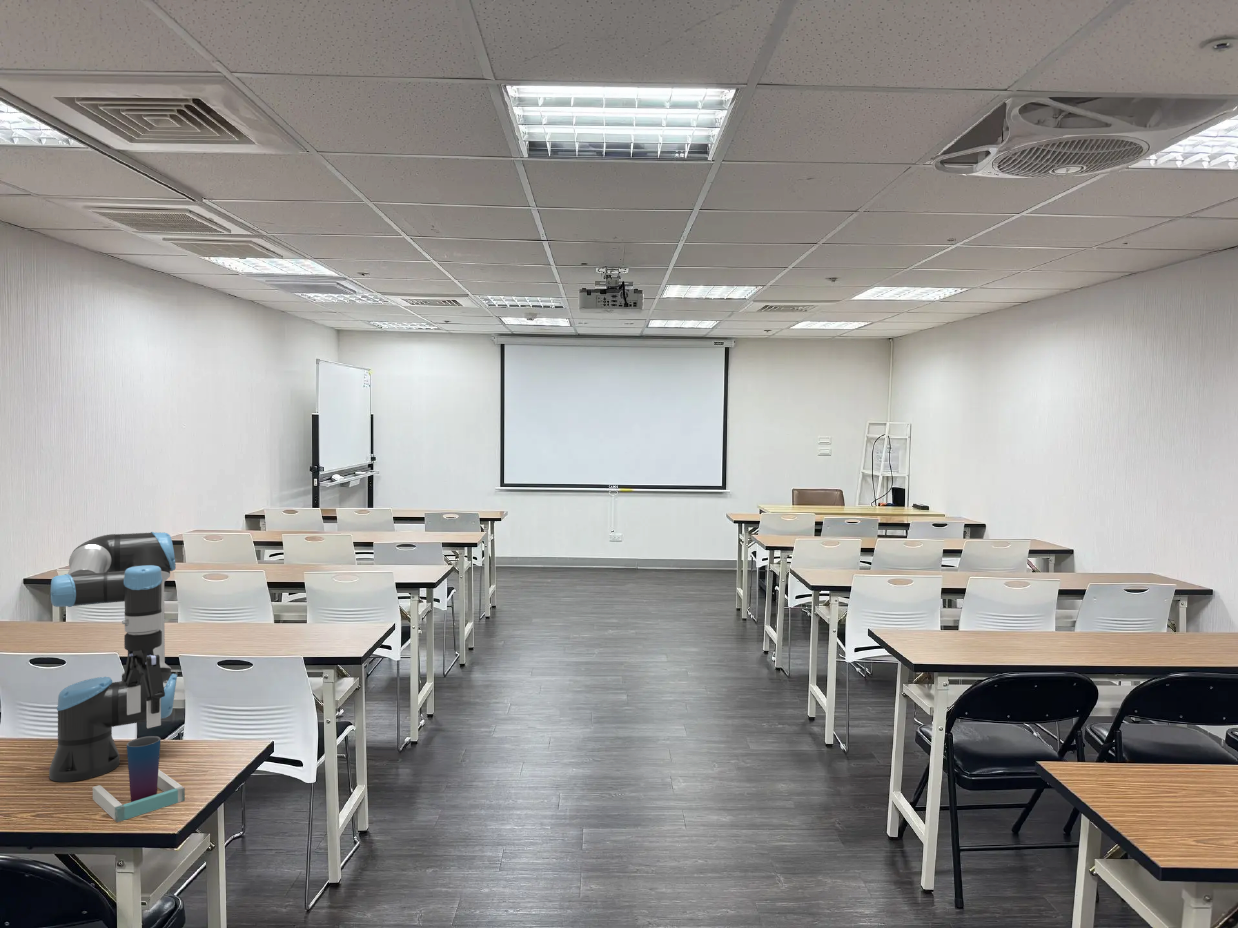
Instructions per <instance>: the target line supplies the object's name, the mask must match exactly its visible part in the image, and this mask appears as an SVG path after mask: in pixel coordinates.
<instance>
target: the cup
mask: <svg viewBox="0 0 1238 928" xmlns="http://www.w3.org/2000/svg"><path fill="white" fill-rule="evenodd" d="M161 740H162V739H161V737H160V736H157V735H148V736H141V737H138V738H134V739H132V740H130V741H128V742H127V743H126V754H127V764H128V765H127V767H128V780H129V781H128V782H129V794H130V795H129V796H130V802H133V801H136V800H140V799H143V798H146V797H149V796H153V795H156V794H158V787H157V783H158V769H159V767H160V754H161V753H160V752H161ZM159 770H160V769H159Z"/></svg>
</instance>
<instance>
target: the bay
mask: <svg viewBox="0 0 1238 928" xmlns="http://www.w3.org/2000/svg"><path fill="white" fill-rule="evenodd" d="M157 789H159V790H161V791H162V792H160V793H157V794H156V795H153V796H149V797H146V798H143V799H140V800H136V801H133V802H131V801H130V802H128V803H124V804H122V803H121V802H120V801H119V800H118V799H116V797H114V796H113V795H112V794H111V792H108V790H106V788H104V787H103V786H102V785H101V784H100V785H95V786H92V801H94V803H96V804H97V805H98V806H99V807H100V808H101V809H102V810H104V811H105V813H107V815H109V817H111V818H112V819H113V820H114V822H116V823H119V822H123V821H126V820H129V819H132V818H134V817H137V816H141V815H144V814H147V813H151V812H153V811H156V810H159V809H162V808H166V807H168V806H172V805H175V804H178V803H181V802H184V801H185V800H186V789H185V787H184V786H183V785H181V784H180V783H178V781H176V780H175V779H174V778H171V777H170V776H169V775H167V774H166V773H165V772H163V771H162V770H160V769H158V783H157Z"/></svg>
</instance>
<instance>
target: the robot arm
mask: <svg viewBox="0 0 1238 928" xmlns="http://www.w3.org/2000/svg"><path fill="white" fill-rule="evenodd" d="M172 539H173V538H172V537H171V535H170V534H169V533H167V532H154V531H151V532H137V533H134V532H133V533H117V534H116V533H112V534H106V535H105V534H104V535H100V536H97V537H94V538H92V539H89V540H86V541H85V542H83V543H82V544H79V545H78V546H77V547H76V548H75V549H74V550H73V551H72V552H71V554H70V556H69V559H68V566H69V570H68V571H67V573H66V574H61V575H56V576H54V577H52V579H51V582H50V602H51V605H52V606H53V607H55V608H59V607H61V608H62V607H67V608H70V607H75V606H77V607H78V606H87V605H96V604H108V603H110V604H111V603H120V602H123V603H124V619H123V620H121V624H122V625H124V632H125V634H124V638H123V639H124V642H123V643H124V644H123V646H124V649H125V650H126V651H127V658H126V664H125V668H124V671H123V673H122V674H121V681H113V679H112V678H111V677H110V676H99V677H93V678H89V679H85V680H82V681H79V682H75V683H72V684H70V685H68V686H67V687H64V688H63V689H62V690H60V692H59V694H58V696H57V707H56V711H57V746H56V750H55V753H54V756H53V758H52V761H51V762H50V766H49V771H48V773H49V774H48V775H49V776H48V777H49V778H48V779H49V780H51V781H53V782H59V783H61V782H62V783H65V782H66V783H67V782H69V783H70V782H77V781H82V780H83V781H84V780H88V779H92V778H95V777H98V776H99V777H100V776H101V775H104V774H107V773H110V772H112V771H114V770H115V769H116V768H118V767H119V765H120V764H121V763H120V753H119V751H118V748H117V746H116V743H115V740H114V738H113V734H112V733H113V732H112V730H113V728H114V727H119V726H120V727H121V726H125V725H126V726H128V725H132V724H137V723H143V722H144V723H145V722H146V728H147V729H151V728H154V727H159V726H161V725H162V719H166V718H167V717H168V718H169V716H171V715H172V713H173V711H174V710H173V708H174V701H175V700H174V699H175V692H176V686H177V679H178V674H176V673H172V668H171V666H170V665H168V664H167V663H165V661H166V657H165V654H166V653H165V651H166V650H165V649H166V648H165V645H166V644H165V638H166V637H165V582H166V581H167V580H168V579H169V578H171V572H173V571H175V570H176V557H175V550H174V545H173V540H172Z"/></svg>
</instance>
